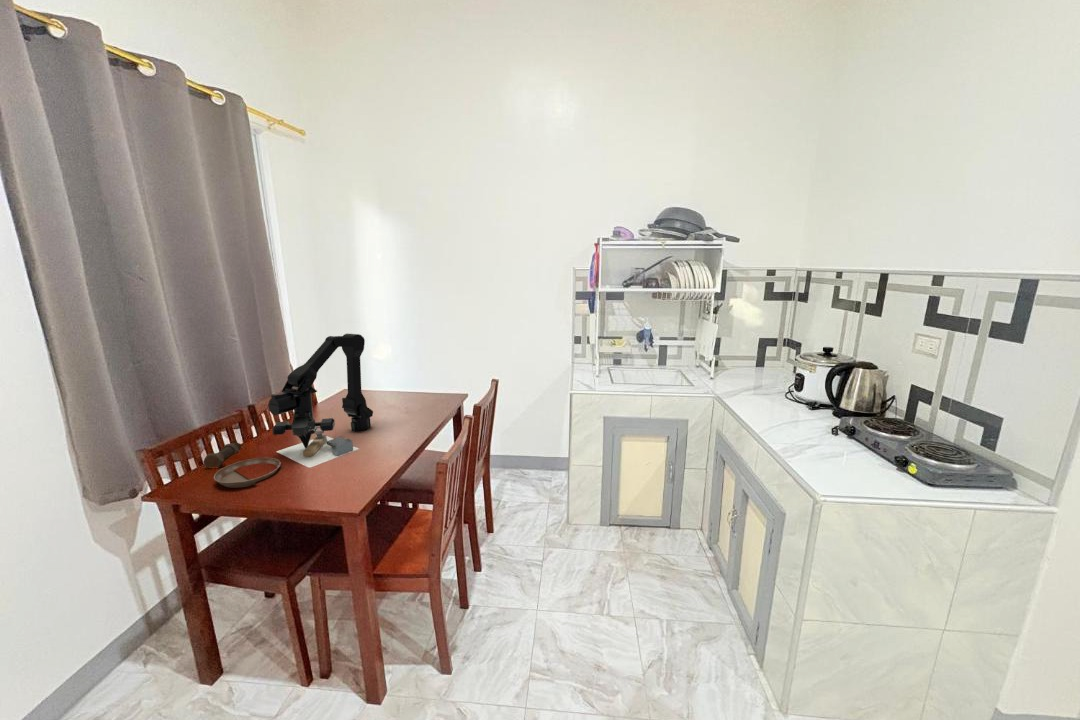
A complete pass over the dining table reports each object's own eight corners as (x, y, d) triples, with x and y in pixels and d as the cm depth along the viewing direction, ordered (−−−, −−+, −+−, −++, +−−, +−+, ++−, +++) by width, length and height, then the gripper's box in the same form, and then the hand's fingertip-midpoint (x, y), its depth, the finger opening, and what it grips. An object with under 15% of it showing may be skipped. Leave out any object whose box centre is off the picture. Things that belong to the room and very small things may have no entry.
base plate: (325, 437, 170) (325, 435, 170) (359, 451, 157) (359, 448, 156) (276, 454, 155) (276, 451, 155) (309, 470, 142) (309, 467, 142)
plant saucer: (283, 461, 151) (281, 452, 150) (279, 483, 135) (278, 473, 134) (221, 472, 143) (219, 463, 142) (210, 497, 127) (208, 487, 127)
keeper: (342, 445, 159) (341, 436, 158) (353, 450, 155) (352, 440, 154) (326, 451, 154) (325, 441, 154) (337, 456, 150) (336, 446, 150)
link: (316, 440, 164) (314, 429, 163) (328, 439, 164) (327, 428, 164) (301, 457, 150) (299, 444, 149) (314, 456, 150) (313, 443, 149)
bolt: (241, 455, 160) (216, 472, 145) (227, 449, 159) (200, 466, 144) (247, 441, 159) (223, 457, 145) (233, 435, 158) (207, 451, 144)
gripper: (266, 416, 142) (270, 461, 145) (329, 412, 147) (332, 455, 151) (275, 406, 152) (279, 448, 155) (333, 402, 158) (336, 443, 161)
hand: (306, 448), depth 155 cm, fingers closed
